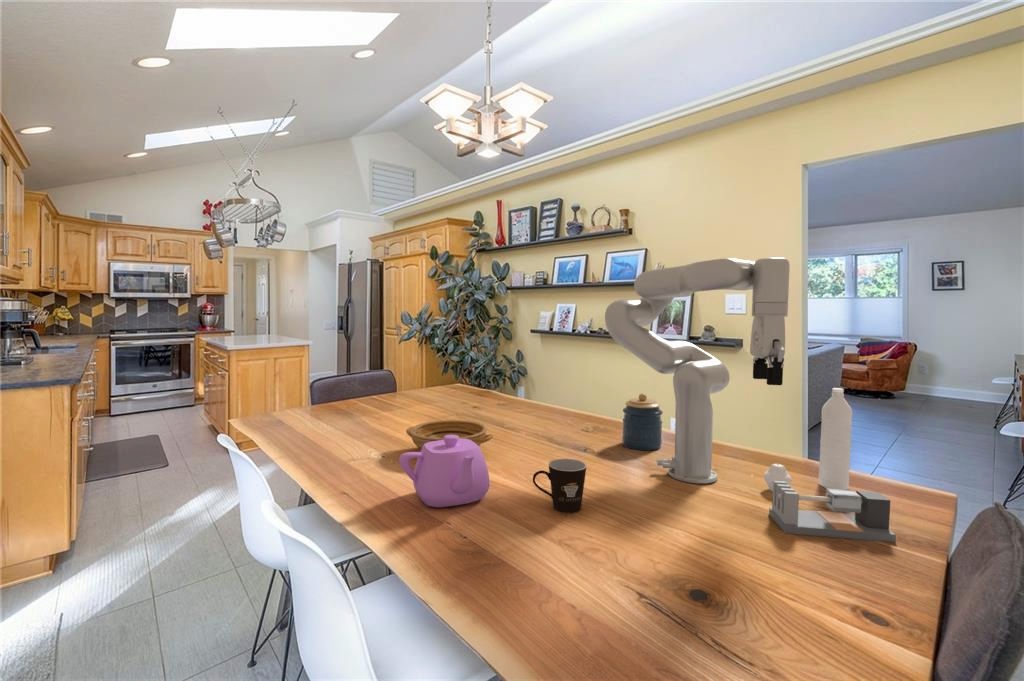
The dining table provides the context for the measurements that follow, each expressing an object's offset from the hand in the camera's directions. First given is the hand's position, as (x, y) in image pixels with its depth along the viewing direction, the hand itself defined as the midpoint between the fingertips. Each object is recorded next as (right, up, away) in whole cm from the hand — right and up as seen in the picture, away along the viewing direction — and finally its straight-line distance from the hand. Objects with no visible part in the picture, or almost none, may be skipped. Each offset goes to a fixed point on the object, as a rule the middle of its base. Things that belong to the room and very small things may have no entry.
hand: (766, 381), depth 113 cm
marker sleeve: (+7, -25, -15) cm, 30 cm away
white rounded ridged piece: (+6, -28, +6) cm, 29 cm away
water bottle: (+23, -28, +10) cm, 37 cm away
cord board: (+5, -29, -14) cm, 33 cm away
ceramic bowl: (-81, -26, +36) cm, 93 cm away
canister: (-17, -26, +45) cm, 55 cm away
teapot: (-76, -28, 0) cm, 81 cm away
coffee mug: (-50, -29, -4) cm, 58 cm away
